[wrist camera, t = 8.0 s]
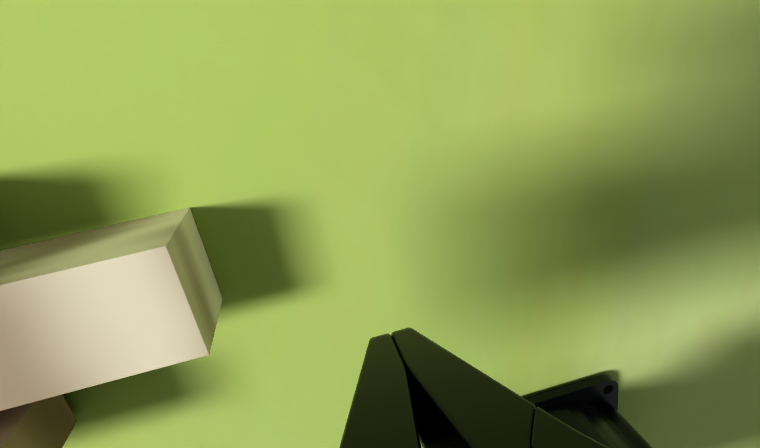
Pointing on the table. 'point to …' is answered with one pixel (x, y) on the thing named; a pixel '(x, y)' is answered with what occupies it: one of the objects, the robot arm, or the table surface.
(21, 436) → the cradle
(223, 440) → the table surface
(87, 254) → the block
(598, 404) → the robot arm
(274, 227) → the table surface
